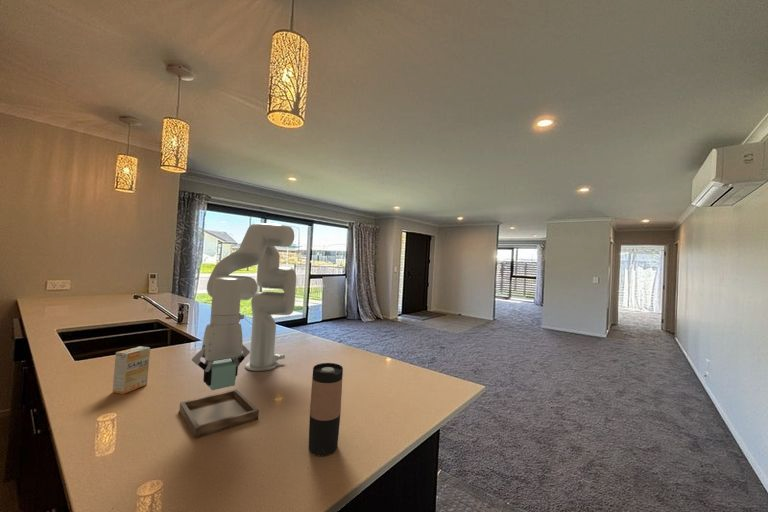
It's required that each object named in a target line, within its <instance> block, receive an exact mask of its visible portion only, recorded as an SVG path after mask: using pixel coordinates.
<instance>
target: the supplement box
mask: <svg viewBox="0 0 768 512" xmlns="http://www.w3.org/2000/svg"><path fill="white" fill-rule="evenodd" d="M150 355H151V347H149V346H136V347H132V348H128V349H124V350H120V351H116V352H115V358H114V370H113V371H114V373H113V380H112V381H113V383H112V393H116V394H121V395H124V394H127V393H129V392H132V391H134V390H137V389H140V388H141V387H145V386H147V385H148V379H149V377H148V375H149V368H150V367H149V365H150V364H149V363H150Z"/></svg>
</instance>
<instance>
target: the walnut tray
mask: <svg viewBox="0 0 768 512" xmlns="http://www.w3.org/2000/svg"><path fill="white" fill-rule="evenodd" d="M179 413H180V414H181V416H182V418H183V420H184V421H185V423H186V425H187V427H188V429H189V430H190V433H192V436H193V437H194V439H198V438H202V437H204V436H205V437H206V436H208V435H211V434H214V433H215V434H216V433H218V432H220V431H224V430H228V429H231V428H234V427H236V426H240V425H243V424H246V423H249V422H250V423H251V422H253V421H256V420H259V413H260V410H259V409H258V407H256V405H254V404H253V403H252V402H251V401H250V400H249V399H248V398H247V397H246V396H245V395H244V394H242V392H241V391H240V390H239V389H232V390H227V391H223V392H219V393H214V394H210V395H207V396H206V395H205V396H202V397H198V398H193V399H189V400H184V401H180V402H179Z"/></svg>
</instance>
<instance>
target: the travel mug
mask: <svg viewBox="0 0 768 512" xmlns="http://www.w3.org/2000/svg"><path fill="white" fill-rule="evenodd" d="M343 370H344V368H343V366H342V365H340V364H338V363H333V362H323V363H317V364H316V365H314V366H313V368H312V377H311V378H312V379H311V392H310V393H311V394H310V404H309V419H308V421H309V424H308V425H309V426H308V450H309V452H310V453H311V454H312V455H313V454H315V455H314V456H316V455H320V456H319V457H322V456H321V455H324V456H323V457H326V456H325V455H327V456H330V455H332V454H334V453H335V452H336V451H337V450H338V443H339V435H340V423H341V412H342V410H341V409H342V395H343V393H342V392H343V390H342V389H343V377H344V376H343V375H344V374H343ZM329 454H330V455H329Z"/></svg>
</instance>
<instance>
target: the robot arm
mask: <svg viewBox="0 0 768 512" xmlns="http://www.w3.org/2000/svg"><path fill="white" fill-rule="evenodd" d="M294 231H295V230H294V229H293V228H292V227H291V226H289V225H284V224H279V223H265V222H257V223H256V222H255V223H253V224H250V226H249V227H248V228H247V230H246V232H245V234H244V237H243V239H242V241H241V243H240V246H239V248H238V250H236V251H233V252H231V253H230V254H228V255H227V256H226V257H224V258H222V259H221V260H220V261H219V262H217V263H216V265H215V266H214V268H213V269H212V271H211V274H210V276H209V278H208V281H207V284H206V293H207V294H208V295H209V297H210V298H211V308H210V323H209V324H206V326H205V331H204V334H203V338H202V344H201V349H200V350H199V351H198V352H197V353H196V354H195V355H194V356H193V357H192V358H191V361H192V362H193V363H194V364H195V365H197V366H198V367H199V368H200V369H202V370H203V379H202V381H203V383H204V384H205V385H206V386H207V387H209V386H210V385H211V374H212V372H211V371H210V370H211V367H212V364H213V362H216V361H222V360H228V359H229V360H231V361H232V362H233V363H235V364H236V375H235V381H236V378H237V376H238V371H239V369H238V368H239V366H240V365H241V363H242V362H243V361H244V360H245V358H246V357H247V356H248V355H249V361H248V362H246V363H245V365H244V366H245V368H246V370H249V371H253V372H265V371H271V370H274V369H275V368H277V366H278V360H285V359H286V355H285V354H279V353H278V354H275V349H276V348H275V347H276V335H277V334H276V333H277V324H276V321H275V319H274V317H273V315H274V316H289V315H292V314H293V312H294V310H295V305H296V304H295V303H296V288H297V274H296V271H295V269H293V268H292V267H288V266H287V267H286V266H280V259H281V256H280V252H279V251H278V250H277V249H278V248H276V247H282V248H283V247H284V248H288V247H291V246H292V245H293V243H294V240H295V232H294ZM256 265H257V273H256V274H257V275H256V277H257V279H256V280H255V279H254V277H252V276H246V275H234V274H233V273H234V272H237V271H239V270H242V269H247V268H249V267H253V266H256ZM230 274H233V275H230ZM258 287H259V288H262V289H270V290H271V289H272V290H282V291H283V292H279V291H278V292H277V291H259V292H258ZM250 299H251V303H250V304H251V312H252V313H251V315H252V322H251V323H252V324H251V325H252V326H251V339H250V341H251V342H250V350H249V348H247V347H246V346H245V345H244V343H243V342H244V341H243V329H242V323H240V322H241V320H244V318H245V315H244V314H242V313H241V312H240V309H241V301H247V300H250ZM201 358H203V359H204V360H205V361H204V362H203V361H201Z"/></svg>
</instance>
